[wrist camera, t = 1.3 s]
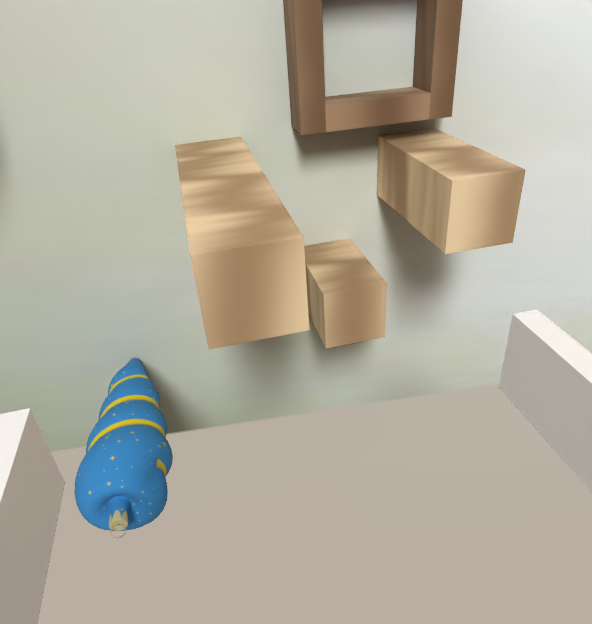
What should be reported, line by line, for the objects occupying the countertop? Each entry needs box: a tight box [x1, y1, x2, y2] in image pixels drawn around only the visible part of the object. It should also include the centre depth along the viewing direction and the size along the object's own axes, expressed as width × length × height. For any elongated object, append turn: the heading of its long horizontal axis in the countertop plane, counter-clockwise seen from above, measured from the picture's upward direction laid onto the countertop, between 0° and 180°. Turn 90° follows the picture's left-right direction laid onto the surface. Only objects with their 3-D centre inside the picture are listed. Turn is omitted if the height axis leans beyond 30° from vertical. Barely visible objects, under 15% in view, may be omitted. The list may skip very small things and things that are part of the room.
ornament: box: [75, 358, 172, 538], centre depth 31 cm, size 5×5×15 cm
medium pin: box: [377, 129, 525, 254], centre depth 30 cm, size 4×4×10 cm
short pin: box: [304, 239, 387, 348], centre depth 34 cm, size 4×4×7 cm
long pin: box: [175, 137, 309, 349], centre depth 25 cm, size 4×4×16 cm
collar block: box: [283, 0, 462, 135], centre depth 29 cm, size 10×10×2 cm
